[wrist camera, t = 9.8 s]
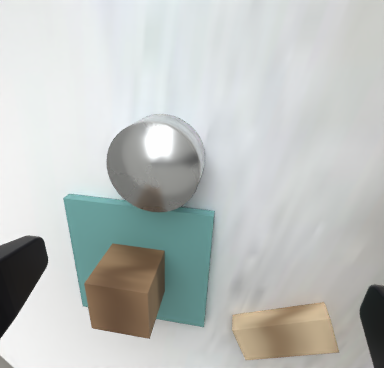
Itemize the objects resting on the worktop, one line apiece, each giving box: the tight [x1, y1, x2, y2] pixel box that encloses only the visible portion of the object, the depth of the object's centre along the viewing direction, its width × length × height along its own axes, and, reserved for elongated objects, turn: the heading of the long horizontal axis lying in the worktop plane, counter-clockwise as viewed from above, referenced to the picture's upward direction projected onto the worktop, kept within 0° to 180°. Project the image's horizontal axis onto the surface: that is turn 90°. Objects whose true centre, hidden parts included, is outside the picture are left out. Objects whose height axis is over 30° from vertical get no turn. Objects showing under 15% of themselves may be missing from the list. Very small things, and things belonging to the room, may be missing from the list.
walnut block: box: [84, 243, 165, 339], centre depth 21 cm, size 4×4×4 cm
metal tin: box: [107, 114, 205, 212], centre depth 18 cm, size 6×6×3 cm
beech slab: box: [232, 302, 339, 360], centre depth 23 cm, size 8×4×2 cm, turn 111°
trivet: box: [63, 194, 215, 327], centre depth 23 cm, size 12×12×1 cm
